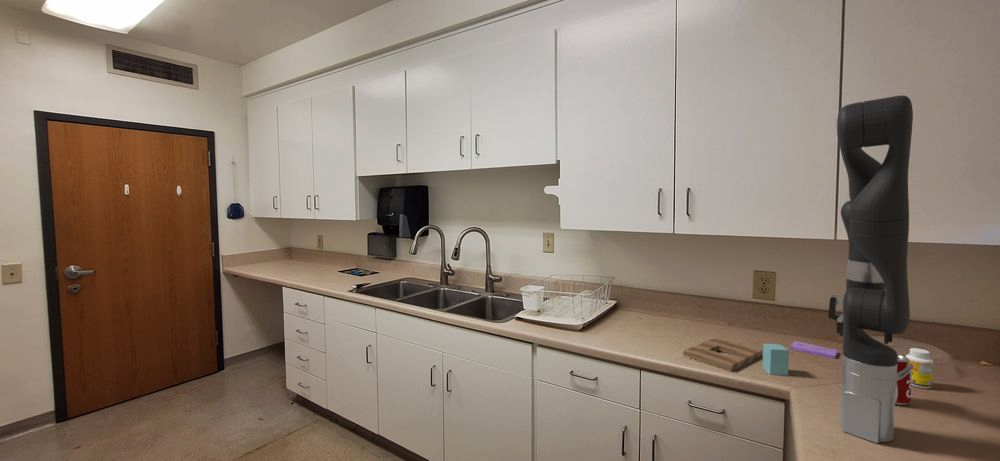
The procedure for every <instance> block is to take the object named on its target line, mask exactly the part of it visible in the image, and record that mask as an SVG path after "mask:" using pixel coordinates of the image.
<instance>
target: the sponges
mask: <svg viewBox="0 0 1000 461" xmlns="http://www.w3.org/2000/svg"><path fill="white" fill-rule="evenodd" d="M790 350H793V351H798V352H802V353H807V354H812V355H816V356H821V357H825V358H830V359H836V357H837V356H838V355H839V349H838V350H837V349H834V348H828V347H823V346H821V345H815V344H810V343H806V342H801V341H799V340H795V341H793V343H792V344H791V345H790Z"/></svg>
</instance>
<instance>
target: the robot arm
mask: <svg viewBox="0 0 1000 461" xmlns="http://www.w3.org/2000/svg"><path fill="white" fill-rule="evenodd" d="M913 119H914V110H913V103H912V101H911V98H909V96H906V95H902V94H901V95H895V96H889V97H882V98H877V99H871V100H865V101H860V102H853V103H850V104H847V105H844V106H843V107H841V108H840V110H839V112H838V113H837V118H836V120H837V121H836V136H837V141H838V146H839V150H840V153H841V156H842V160H843V161H842V162H843V164H844V167H845V170H846V173H847V178H848V179H847V180H848V193H849V200H848V201H845V203H843V205H842V207H841V209H840V216H841V221H842V223H843V226H844V229H845V232H846V235H847V239H848V260H847V265H846V281H845V282H846V284H845V293H844V296H843V297H840V296H839V297H838V296H837V295H835V294H834V295H831V296H830V299H829V304H828V306H829V307H828V316H827V317H828V318H829V319H830V320H834V321H835V322H836V333H837V334H838V335H839V336H840V337H842V360H841V363H842V364H841V380H840V381H841V383H840V385H841V386H840V401H839V403H840V404H839V405H840V406H839V407H840V408H839V409H840V410H839V425H840V427H841V428H842V429H841V430H842V432H845V433H847V434H849V435H853V436H856V437H858V438H861V439H864V440H865V441H866V440H867V441H870V442H873V443H874V444H879V443H888V442H889V443H890V442H891V441H893V439H894V430H895V413H896V412H895V411H896V405H895V395H896V377H897V360H898V355H899V354H898V353H897V351H896V349H894V348H892V347H891V346H889V343H892V342H893V335H902V334H904V333H906V331H907V330H908V327H909V324H910V320H911V318H910V317H911V316H910V315H911V312H910V309H911V308H910V307H911V306H910V296H909V295H910V294H909V281H908V280H909V278H908V249H909V248H908V245H909V233H910V232H909V230H910V204H909V203H910V202H909V201H910V200H909V198H910V197H909V170H910V169H909V168H910V167H909V166H910V156H911V147H912V146H911V145H912V132H913ZM878 146H888V148H887V153H886V155H885V157H884V160H883V161H882V163H881V162H880V161H878V160H876V159H875V158H874V157H872V156H871V155H869V154H868V153H866V151H864V149H863V148H869V147H870V148H871V147H878ZM841 303H842V313H841V314H840V315H839V314H837V313H836V311H837V306H840V304H841ZM865 330H868V331H874V332H878V333H879V332H880V333H884V340H883V341H884V342H883V343H882V342H880V341H878V340H877V339H875V338H873V337H872V336H870V335H868V333H867V332H866V331H865Z"/></svg>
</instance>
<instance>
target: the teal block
mask: <svg viewBox="0 0 1000 461" xmlns="http://www.w3.org/2000/svg"><path fill="white" fill-rule="evenodd" d="M762 346H763V347H762V369H763V370H764V371H766V373H768V374H769V375H770V376H789V364H790V363H789V362H790V359H789V358H790V349H788V348H786V347H785V346H783V345H782V344H781V343H780V344H779V343H777V344H776V343H763V344H762Z"/></svg>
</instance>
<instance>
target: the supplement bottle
mask: <svg viewBox="0 0 1000 461" xmlns="http://www.w3.org/2000/svg"><path fill="white" fill-rule="evenodd" d="M930 354H931V353H930V351H928V350H926V349H922V348H917V347H912V348H911V347H910V348H909V352H908V354H906V355H905V357H907V358H908V359H909V363H910V364H911V365H912V382H911V385H912V386H911V387H914V386H915V388H918V389H931V388H932V387H933V379H934V378H933V377H934V376H933V374H934V360H933V359H932V358H930Z"/></svg>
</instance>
